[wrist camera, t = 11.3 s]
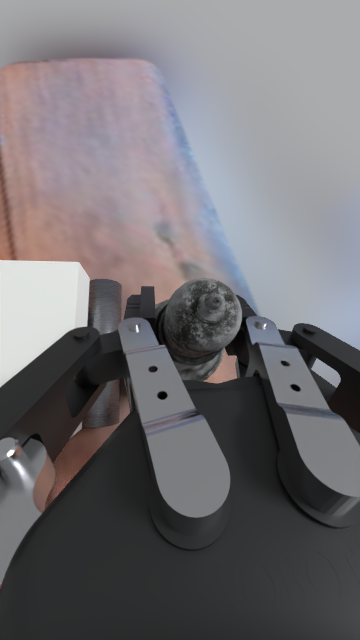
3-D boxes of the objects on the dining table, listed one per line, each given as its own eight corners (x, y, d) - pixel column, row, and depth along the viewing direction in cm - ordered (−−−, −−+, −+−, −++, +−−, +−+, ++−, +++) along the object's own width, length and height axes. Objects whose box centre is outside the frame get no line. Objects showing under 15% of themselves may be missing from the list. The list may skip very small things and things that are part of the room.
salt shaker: (225, 356, 18) (350, 327, 7) (165, 400, 17) (194, 457, 5) (184, 299, 19) (235, 184, 8) (124, 336, 18) (73, 266, 6)
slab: (-72, 439, 15) (-124, 455, 12) (-41, 276, 18) (-77, 258, 15) (81, 428, 17) (67, 440, 14) (89, 278, 19) (79, 262, 16)
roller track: (-43, 429, 18) (-79, 440, 15) (-20, 290, 21) (-47, 276, 18) (121, 418, 20) (116, 425, 17) (123, 291, 23) (119, 279, 20)
